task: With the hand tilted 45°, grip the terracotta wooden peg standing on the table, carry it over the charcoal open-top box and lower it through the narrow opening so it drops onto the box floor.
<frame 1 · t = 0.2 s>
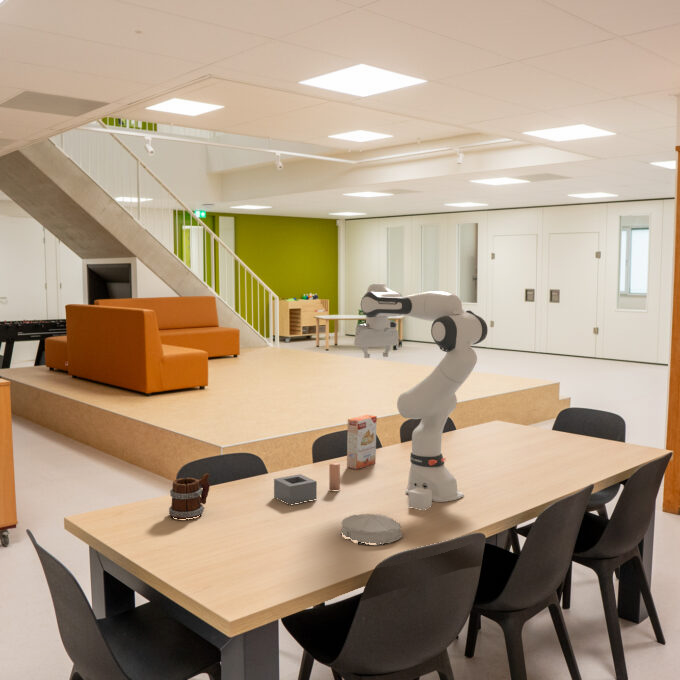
hand: (376, 357, 291), 48 cm above the table, tool pointing down, fingers open, 8 cm apart
peg: (334, 489, 269), on the table
mug: (190, 514, 242), on the table
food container: (371, 536, 224), on the table
white cube: (420, 507, 250), on the table
cracker box: (361, 465, 304), on the table
socket box: (295, 498, 258), on the table
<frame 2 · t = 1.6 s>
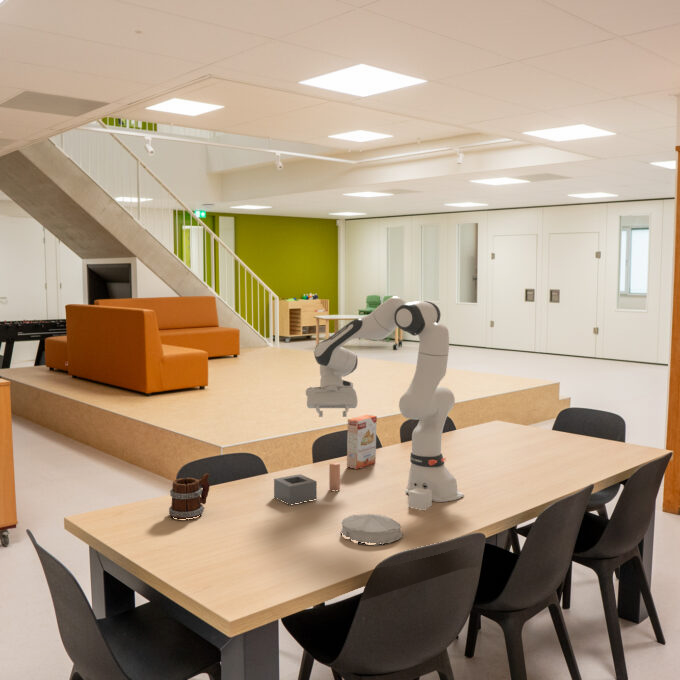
hand: (332, 416, 279), 26 cm above the table, tool tilted 45°, fingers open, 8 cm apart
nothing on the table moved.
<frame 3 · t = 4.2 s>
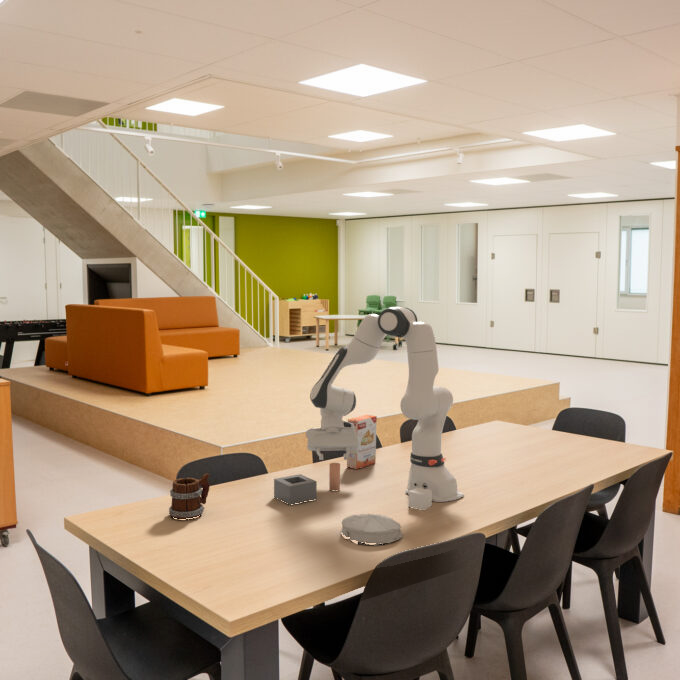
hand: (333, 459, 274), 10 cm above the table, tool tilted 45°, fingers open, 8 cm apart
nothing on the table moved.
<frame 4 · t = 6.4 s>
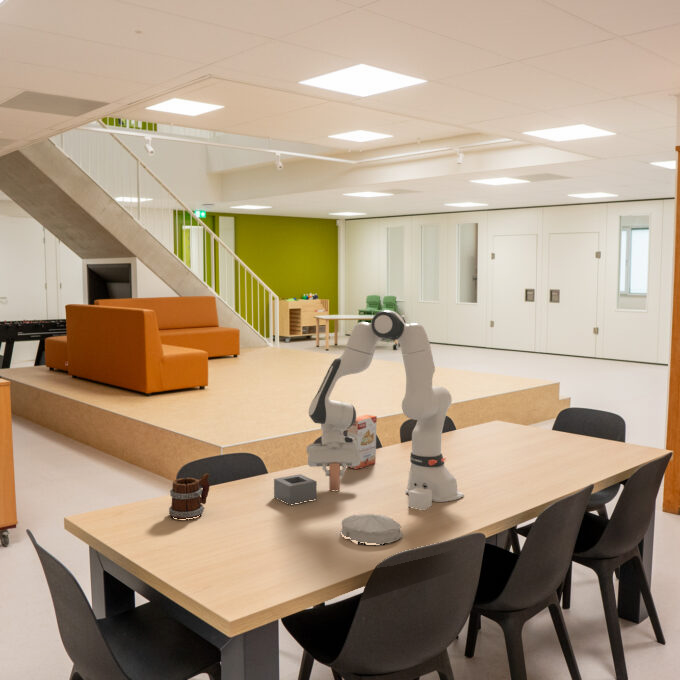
hand: (334, 475, 268), 6 cm above the table, tool tilted 45°, fingers closed on peg, 4 cm apart
peg: (334, 489, 269), on the table, touching gripper
everything else where it was.
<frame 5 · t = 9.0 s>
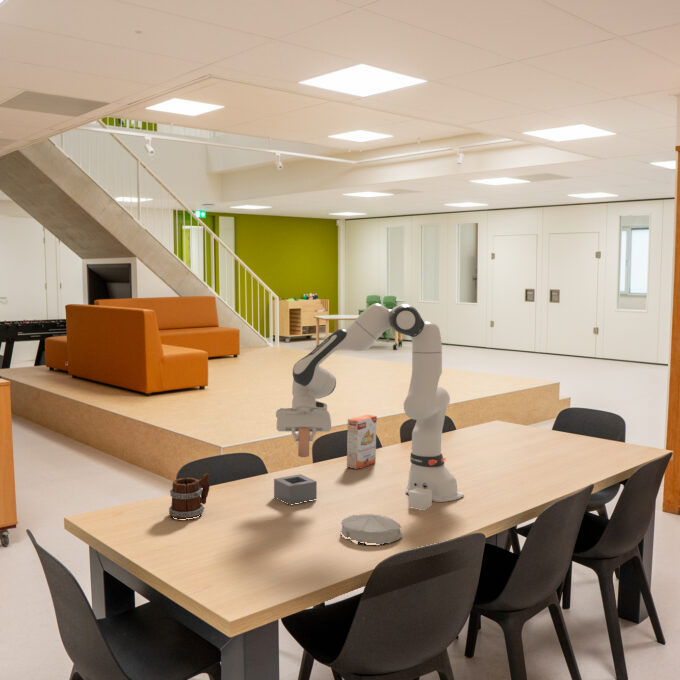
hand: (303, 440, 259), 21 cm above the table, tool tilted 45°, fingers closed on peg, 4 cm apart
peg: (303, 455, 260), point 15 cm above the table, touching gripper
everything else where it was.
when the fingers open (10 cm above the table, at t = 11.7 s): peg drops 3 cm, resting on socket box.
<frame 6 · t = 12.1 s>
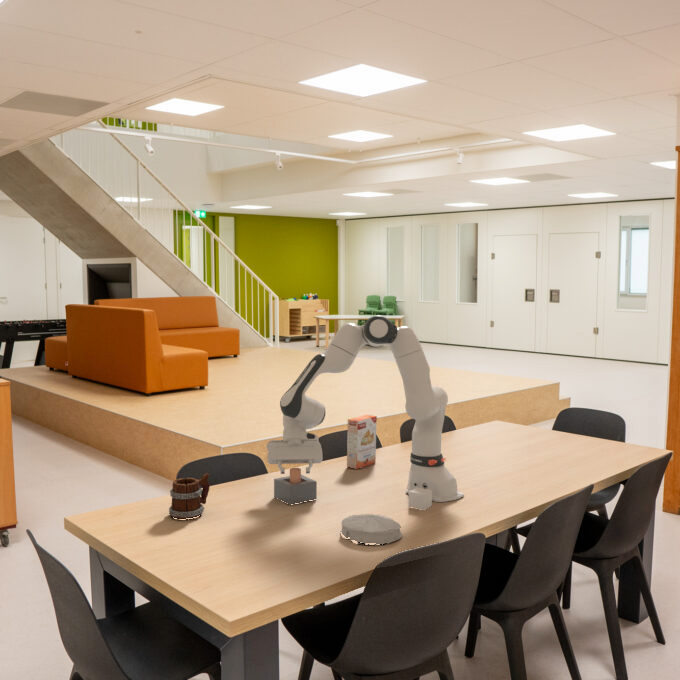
hand: (295, 472, 257), 10 cm above the table, tool tilted 45°, fingers open, 8 cm apart
peg: (295, 495, 258), point 1 cm above the table, touching socket box
everything else where it was.
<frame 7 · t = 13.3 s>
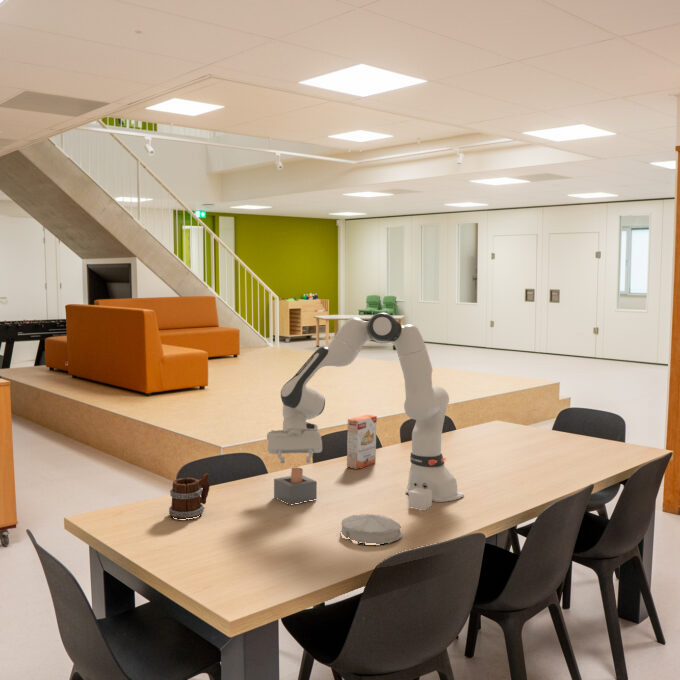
hand: (295, 462, 260), 13 cm above the table, tool tilted 45°, fingers open, 8 cm apart
nothing on the table moved.
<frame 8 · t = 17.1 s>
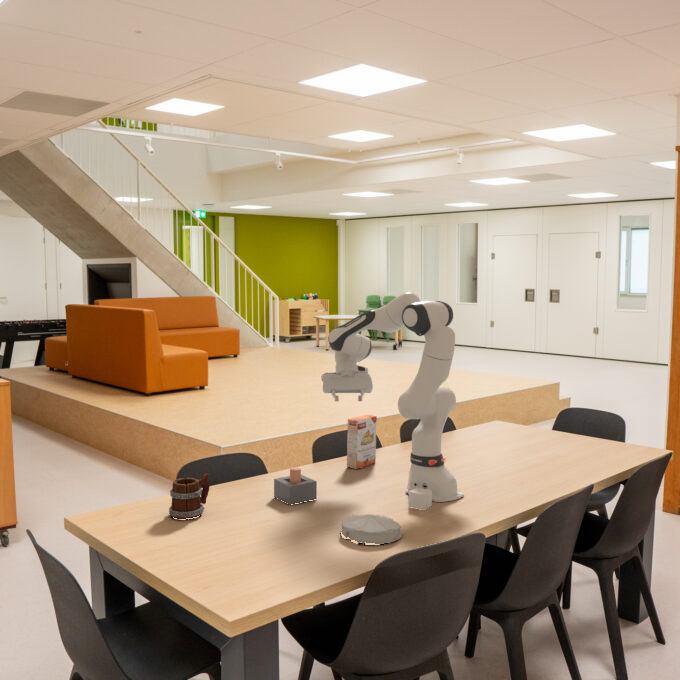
hand: (348, 400, 283), 31 cm above the table, tool tilted 45°, fingers open, 8 cm apart
nothing on the table moved.
at the end: peg 0.1 cm off-centre on the socket box, point 1.0 cm above the socket box's base; peg tilted 1°; the gripper is holding nothing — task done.
